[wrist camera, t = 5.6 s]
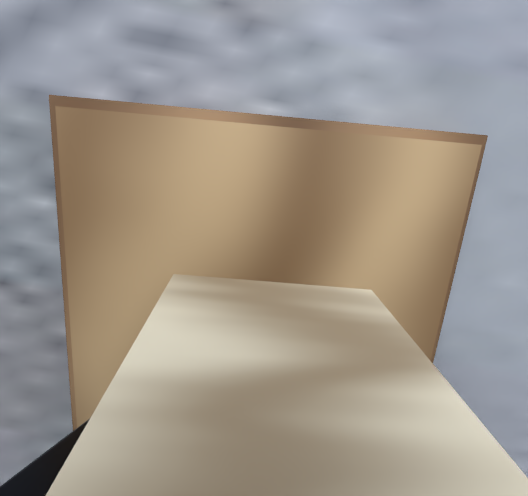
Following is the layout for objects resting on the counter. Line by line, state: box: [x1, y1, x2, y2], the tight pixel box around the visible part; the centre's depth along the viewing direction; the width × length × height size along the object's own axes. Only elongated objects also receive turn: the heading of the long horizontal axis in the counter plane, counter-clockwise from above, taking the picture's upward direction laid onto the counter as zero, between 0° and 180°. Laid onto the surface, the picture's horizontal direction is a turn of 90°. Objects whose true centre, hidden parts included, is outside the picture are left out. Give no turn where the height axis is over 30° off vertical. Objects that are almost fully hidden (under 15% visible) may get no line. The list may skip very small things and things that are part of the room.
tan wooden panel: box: [49, 95, 488, 431], centre depth 13 cm, size 13×13×2 cm
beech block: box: [46, 274, 528, 496], centre depth 6 cm, size 5×5×7 cm
